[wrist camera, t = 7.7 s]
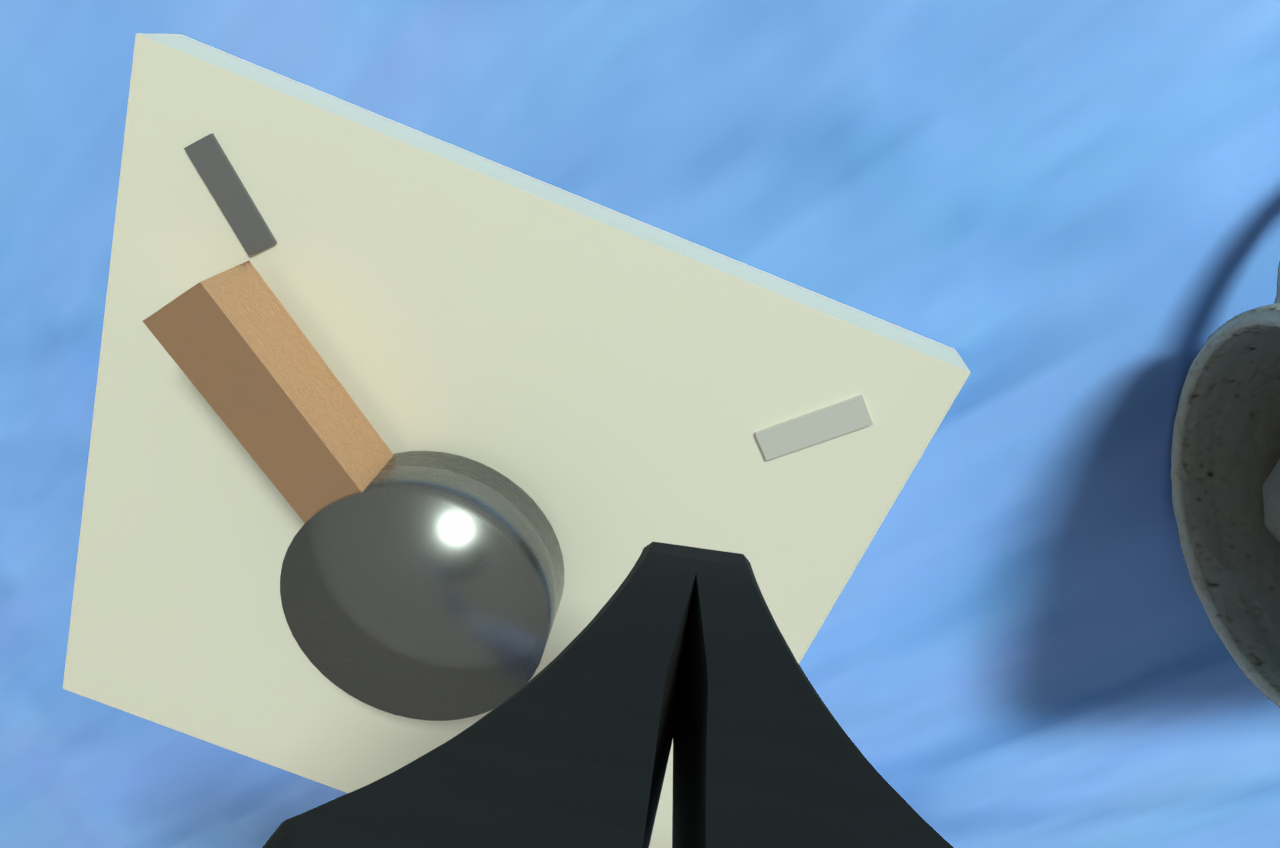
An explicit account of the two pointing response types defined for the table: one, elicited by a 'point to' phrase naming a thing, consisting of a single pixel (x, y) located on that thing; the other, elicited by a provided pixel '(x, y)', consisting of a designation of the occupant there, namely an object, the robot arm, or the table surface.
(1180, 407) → the ceramic mug
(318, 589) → the twist handle
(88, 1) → the table surface
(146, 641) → the base
